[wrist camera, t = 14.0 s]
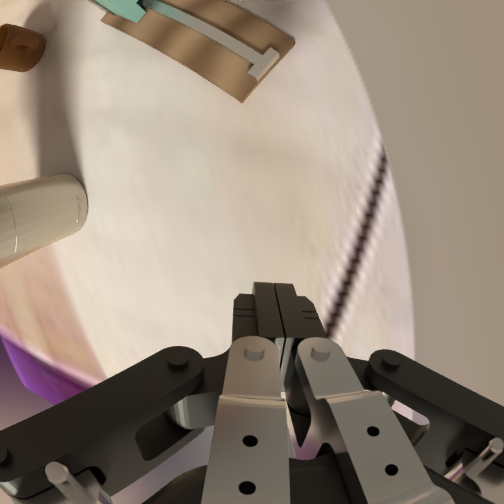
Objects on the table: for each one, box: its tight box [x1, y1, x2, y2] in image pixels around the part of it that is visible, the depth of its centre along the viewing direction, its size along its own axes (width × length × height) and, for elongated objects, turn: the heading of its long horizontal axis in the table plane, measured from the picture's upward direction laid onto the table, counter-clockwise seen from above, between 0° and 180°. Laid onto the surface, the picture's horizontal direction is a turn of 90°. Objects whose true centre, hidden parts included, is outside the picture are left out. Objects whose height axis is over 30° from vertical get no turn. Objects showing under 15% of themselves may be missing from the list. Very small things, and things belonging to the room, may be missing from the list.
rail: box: [88, 0, 279, 82], centre depth 22 cm, size 26×7×9 cm, turn 51°
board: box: [100, 0, 295, 103], centre depth 27 cm, size 26×10×1 cm, turn 51°
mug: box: [0, 24, 45, 72], centre depth 25 cm, size 12×8×9 cm, turn 73°
